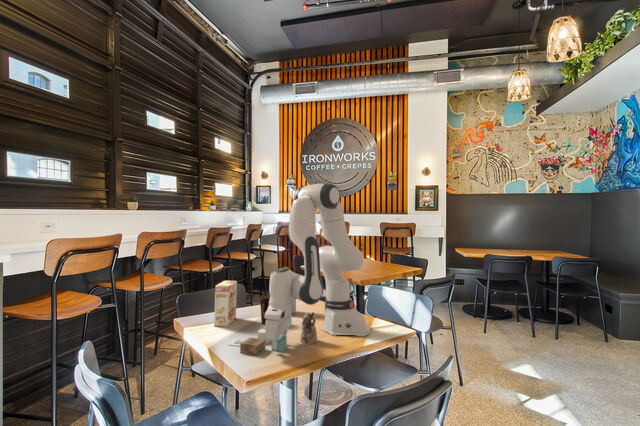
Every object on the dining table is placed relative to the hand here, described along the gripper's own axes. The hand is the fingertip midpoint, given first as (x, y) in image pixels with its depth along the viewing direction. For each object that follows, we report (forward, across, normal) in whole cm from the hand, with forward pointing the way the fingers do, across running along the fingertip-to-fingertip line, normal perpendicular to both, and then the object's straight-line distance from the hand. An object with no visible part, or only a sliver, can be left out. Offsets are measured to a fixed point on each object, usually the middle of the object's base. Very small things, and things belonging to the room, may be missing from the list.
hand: (279, 344), depth 133 cm
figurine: (+2, -11, +9) cm, 14 cm away
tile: (+2, -1, -18) cm, 18 cm away
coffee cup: (+2, -30, -17) cm, 35 cm away
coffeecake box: (+2, -26, -38) cm, 46 cm away
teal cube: (+2, 0, 0) cm, 2 cm away
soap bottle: (+2, -50, -15) cm, 52 cm away
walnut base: (+2, +5, -9) cm, 10 cm away
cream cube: (+2, -6, -9) cm, 11 cm away
